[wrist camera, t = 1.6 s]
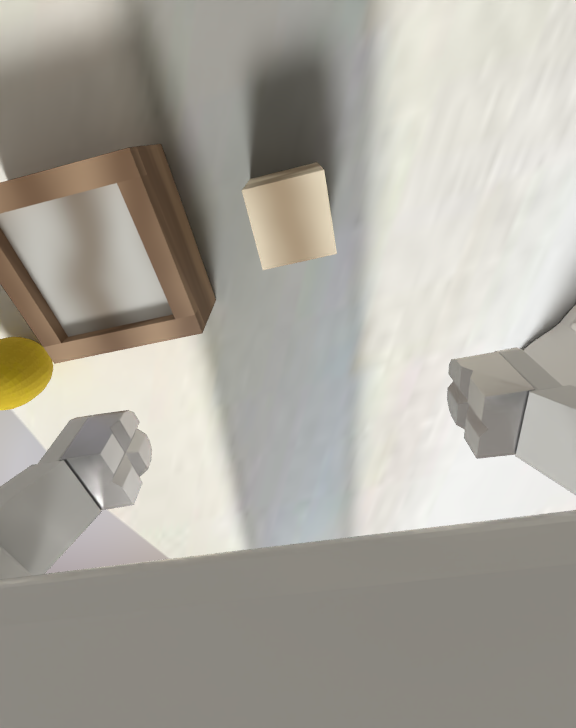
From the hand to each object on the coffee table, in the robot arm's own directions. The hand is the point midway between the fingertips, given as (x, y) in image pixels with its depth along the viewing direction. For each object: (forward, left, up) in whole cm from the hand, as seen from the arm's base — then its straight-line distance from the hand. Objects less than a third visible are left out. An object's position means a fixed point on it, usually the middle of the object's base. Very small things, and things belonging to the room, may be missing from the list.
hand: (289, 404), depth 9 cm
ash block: (0, -1, -23) cm, 23 cm away
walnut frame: (+14, -1, -23) cm, 26 cm away
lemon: (+26, +6, -23) cm, 35 cm away
